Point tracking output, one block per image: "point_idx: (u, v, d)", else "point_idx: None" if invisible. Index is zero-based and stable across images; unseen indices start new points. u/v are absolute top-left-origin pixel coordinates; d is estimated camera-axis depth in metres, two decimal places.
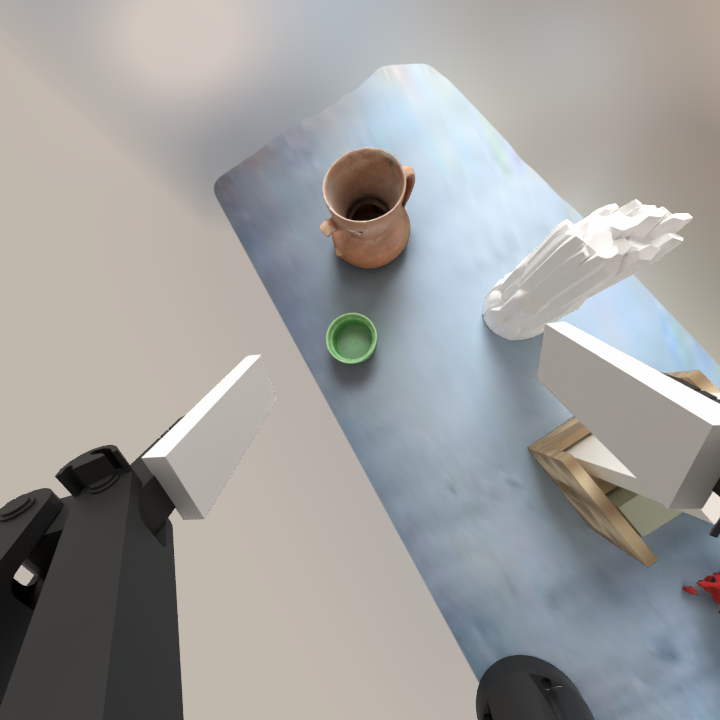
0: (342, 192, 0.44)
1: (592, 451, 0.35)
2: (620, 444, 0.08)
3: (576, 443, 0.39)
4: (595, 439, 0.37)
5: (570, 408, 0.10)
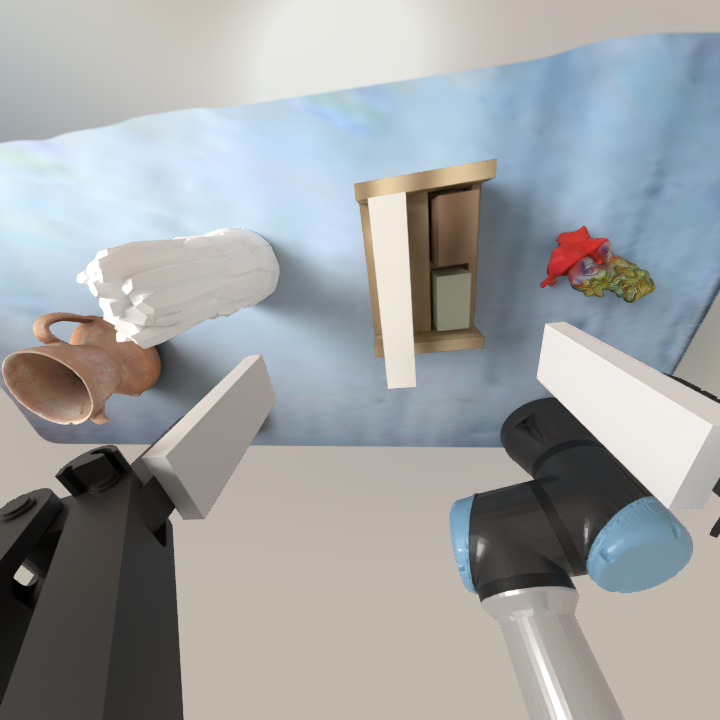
0: (61, 387, 0.43)
1: None
2: (620, 444, 0.08)
3: None
4: None
5: (570, 408, 0.10)
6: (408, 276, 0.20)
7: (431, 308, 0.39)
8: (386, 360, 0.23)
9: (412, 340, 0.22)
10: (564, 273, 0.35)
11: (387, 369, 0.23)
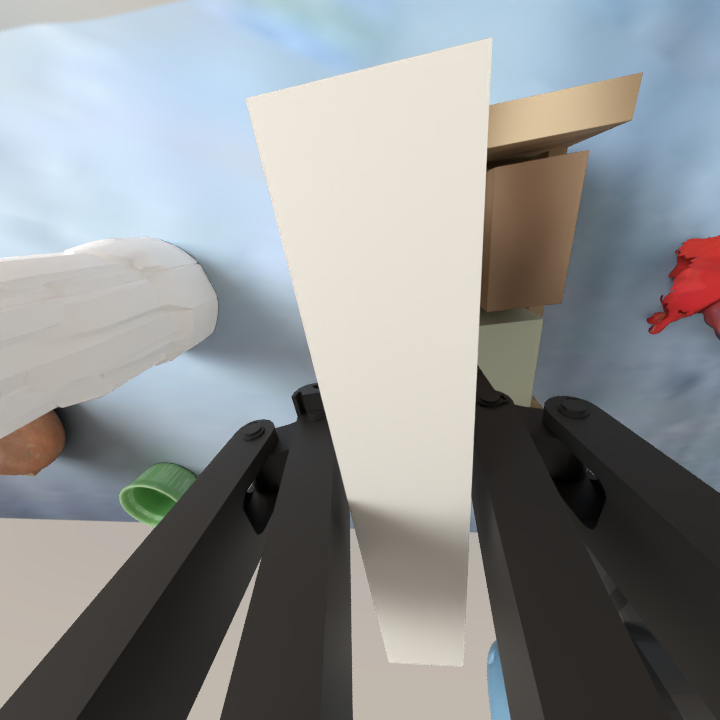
0: None
1: None
2: None
3: None
4: None
5: None
6: (466, 456, 0.05)
7: None
8: (383, 625, 0.08)
9: (462, 599, 0.07)
10: (698, 311, 0.20)
11: (386, 638, 0.08)
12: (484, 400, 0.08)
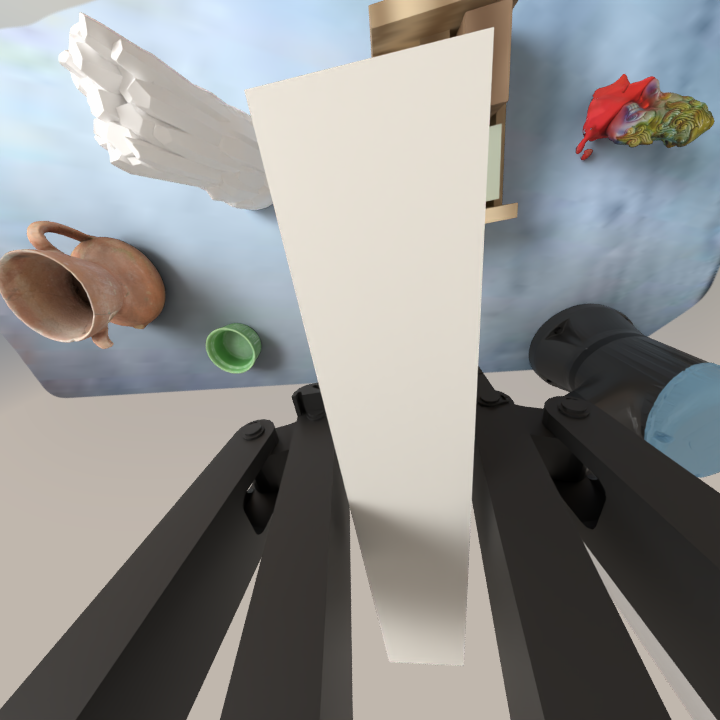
0: (61, 309, 0.40)
1: None
2: None
3: None
4: None
5: None
6: (467, 454, 0.05)
7: None
8: (383, 624, 0.08)
9: (463, 598, 0.07)
10: (603, 130, 0.31)
11: (386, 637, 0.08)
12: (484, 400, 0.08)
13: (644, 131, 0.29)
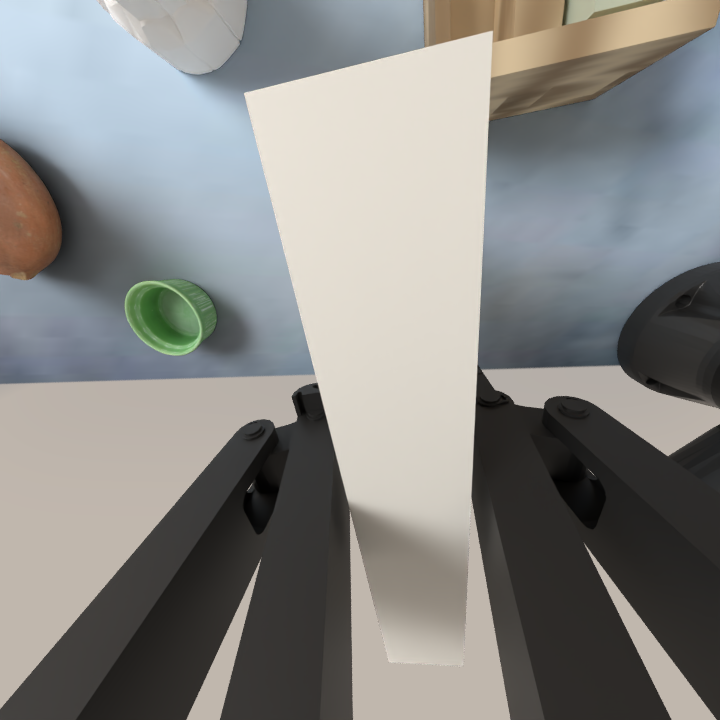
0: None
1: None
2: None
3: None
4: None
5: None
6: (466, 455, 0.05)
7: None
8: (383, 624, 0.08)
9: (462, 599, 0.07)
10: None
11: (386, 637, 0.08)
12: (484, 400, 0.08)
13: None
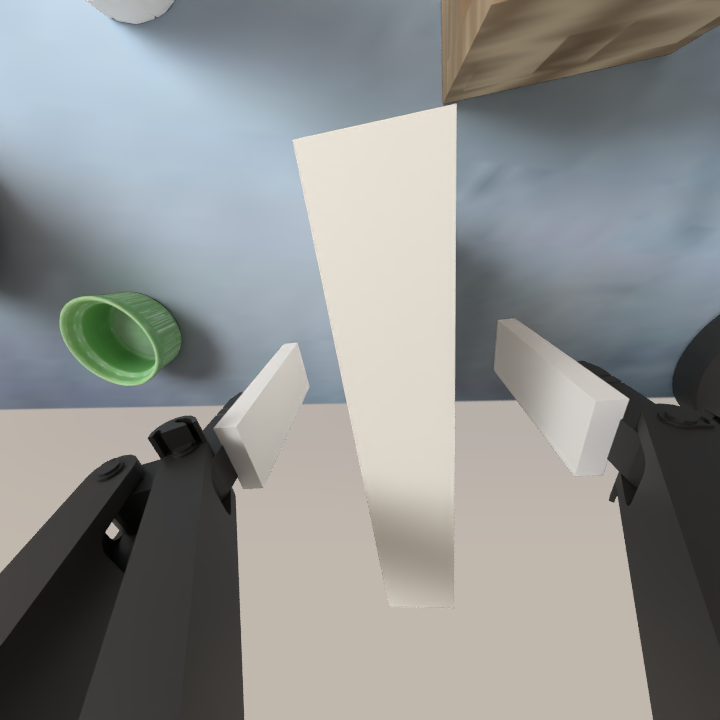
0: None
1: None
2: (546, 424, 0.09)
3: None
4: None
5: (515, 395, 0.11)
6: (449, 406, 0.06)
7: None
8: (384, 567, 0.09)
9: (451, 538, 0.08)
10: None
11: (387, 580, 0.10)
12: (672, 417, 0.06)
13: None
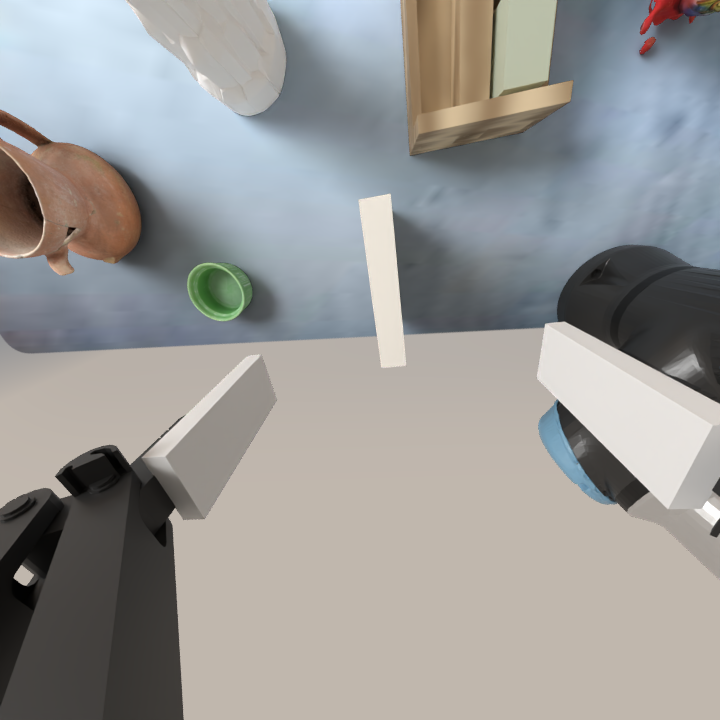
0: (10, 223, 0.34)
1: None
2: (620, 444, 0.08)
3: None
4: None
5: (570, 408, 0.10)
6: (395, 266, 0.23)
7: None
8: (379, 342, 0.26)
9: (401, 323, 0.25)
10: (678, 0, 0.25)
11: (380, 350, 0.27)
12: None
13: None
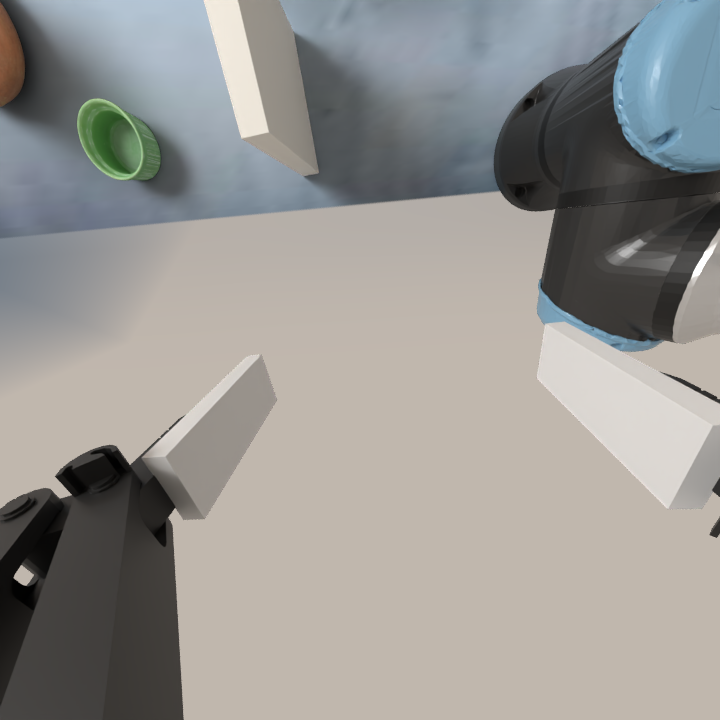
0: None
1: None
2: (621, 444, 0.08)
3: None
4: None
5: (570, 408, 0.10)
6: None
7: None
8: (230, 94, 0.22)
9: (250, 59, 0.21)
10: None
11: (234, 108, 0.22)
12: None
13: None
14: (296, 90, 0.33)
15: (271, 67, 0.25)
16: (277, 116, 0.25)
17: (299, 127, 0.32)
